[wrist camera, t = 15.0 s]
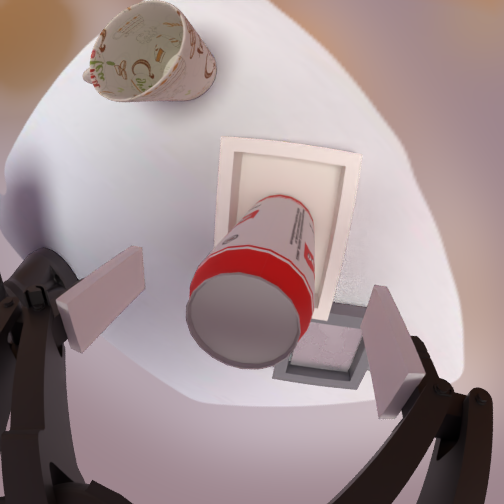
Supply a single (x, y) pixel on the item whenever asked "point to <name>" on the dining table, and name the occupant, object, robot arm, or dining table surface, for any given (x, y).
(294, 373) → the frame
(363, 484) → the robot arm
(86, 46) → the dining table surface
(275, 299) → the beer can
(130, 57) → the mug
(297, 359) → the plate
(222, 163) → the cream rectangular tray
